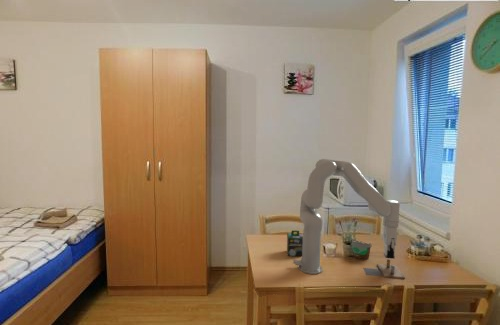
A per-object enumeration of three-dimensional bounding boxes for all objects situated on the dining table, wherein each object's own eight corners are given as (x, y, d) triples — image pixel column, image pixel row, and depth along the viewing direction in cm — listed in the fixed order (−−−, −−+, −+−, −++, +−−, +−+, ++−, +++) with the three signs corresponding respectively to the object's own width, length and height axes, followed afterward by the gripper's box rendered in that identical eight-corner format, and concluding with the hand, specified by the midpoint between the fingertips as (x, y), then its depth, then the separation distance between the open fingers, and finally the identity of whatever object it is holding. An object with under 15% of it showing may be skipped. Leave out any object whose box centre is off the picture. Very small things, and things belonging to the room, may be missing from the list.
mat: (366, 275, 162) (366, 274, 162) (362, 268, 170) (362, 267, 170) (384, 276, 160) (384, 276, 160) (380, 269, 169) (380, 269, 169)
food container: (346, 256, 187) (347, 240, 186) (351, 254, 191) (351, 238, 190) (366, 262, 178) (367, 245, 177) (371, 259, 183) (372, 243, 182)
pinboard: (384, 277, 159) (384, 267, 159) (376, 265, 174) (377, 256, 174) (404, 279, 158) (405, 269, 157) (395, 267, 173) (396, 258, 172)
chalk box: (301, 251, 194) (302, 228, 193) (302, 257, 185) (303, 232, 183) (286, 250, 194) (287, 227, 193) (287, 256, 185) (288, 232, 184)
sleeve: (385, 258, 167) (386, 245, 167) (383, 255, 172) (384, 242, 171) (394, 258, 167) (395, 246, 166) (392, 255, 171) (392, 243, 171)
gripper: (379, 218, 177) (377, 250, 178) (387, 227, 160) (385, 261, 161) (393, 219, 175) (391, 251, 177) (403, 228, 159) (401, 262, 160)
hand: (389, 255), depth 169 cm, fingers closed on sleeve, 4 cm apart
